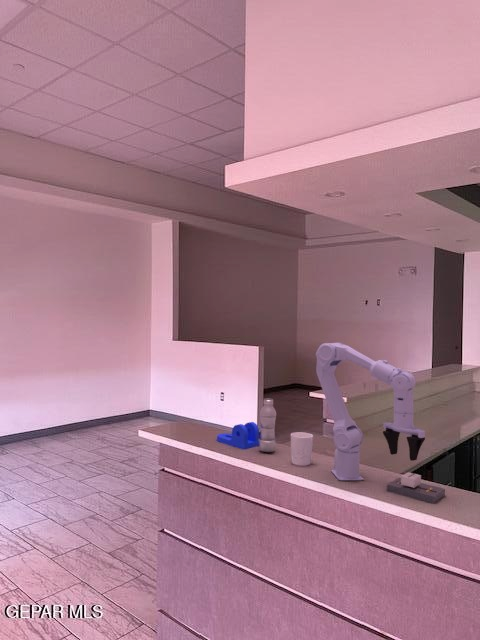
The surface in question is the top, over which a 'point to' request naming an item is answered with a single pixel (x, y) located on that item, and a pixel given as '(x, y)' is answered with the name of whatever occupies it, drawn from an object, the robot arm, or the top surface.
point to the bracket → (241, 436)
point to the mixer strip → (417, 491)
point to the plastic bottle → (267, 427)
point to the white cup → (301, 448)
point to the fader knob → (411, 479)
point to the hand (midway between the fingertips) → (403, 457)
